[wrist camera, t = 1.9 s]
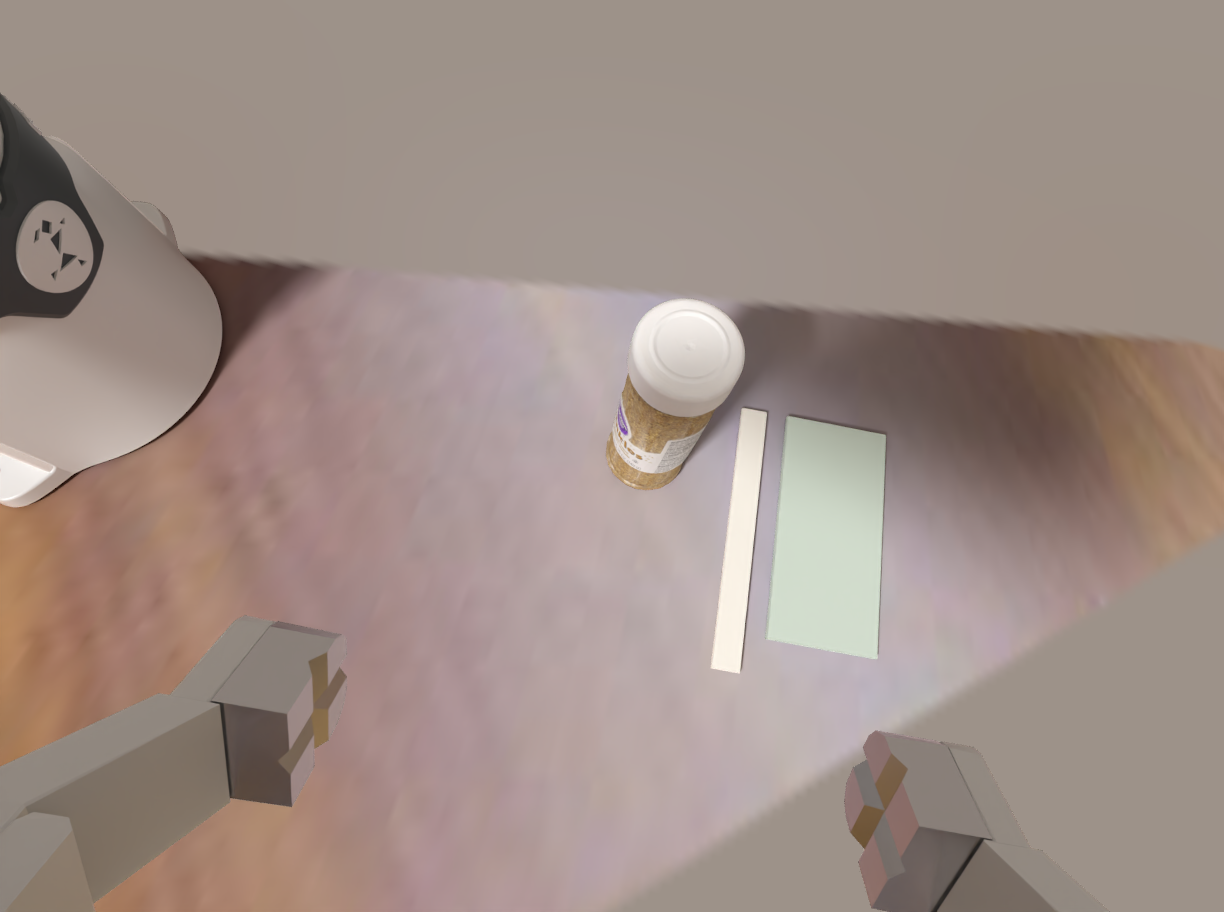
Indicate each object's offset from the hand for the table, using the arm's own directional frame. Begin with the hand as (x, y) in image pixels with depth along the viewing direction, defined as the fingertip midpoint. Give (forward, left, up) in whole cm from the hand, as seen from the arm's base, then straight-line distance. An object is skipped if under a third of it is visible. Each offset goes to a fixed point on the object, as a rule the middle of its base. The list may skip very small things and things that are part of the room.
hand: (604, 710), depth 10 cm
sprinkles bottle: (+2, +13, -26) cm, 29 cm away
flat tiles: (+12, +10, -25) cm, 30 cm away
